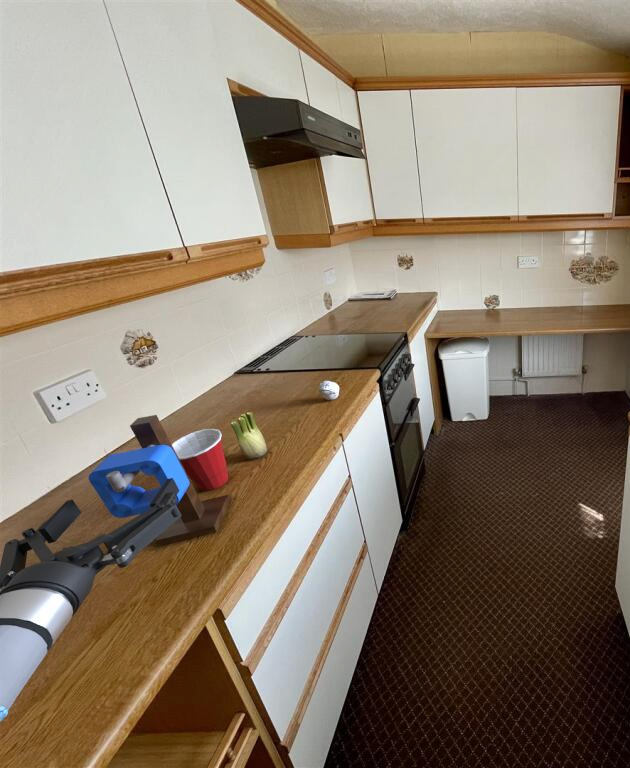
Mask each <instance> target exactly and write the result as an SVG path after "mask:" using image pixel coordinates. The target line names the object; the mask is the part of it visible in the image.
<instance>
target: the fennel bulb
mask: <svg viewBox="0 0 630 768" xmlns="http://www.w3.org/2000/svg"><path fill="white" fill-rule="evenodd" d="M237 421H238V422H237ZM237 421H231V423H230V425H231V428H232V429H233V431H234V435H235V436H236V439H237V442H238V445H239V448H240V451H241V452H242V454H243V456H244V457H245V458H246V459H247V460H254V459H258V458H261V457H263V456H264V455H266V453H267V452H268V448H267V447H268V446H267V443H266V440H265V438H264V436H263V434H262V432H261V431H260V429H259V427H258V426H257V424H256V421H255V418H254V414H253V412H252V411H249V412H246V413H241V415H240V417H238V419H237Z"/></svg>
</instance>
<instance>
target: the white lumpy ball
mask: <svg viewBox="0 0 630 768" xmlns="http://www.w3.org/2000/svg"><path fill="white" fill-rule="evenodd" d="M318 393H319V395H321V396H322V397H323V398H324V399H325V400H327V401H333V400H336V399H337V398H338V397H339V394H340V386H339V385H338V383H337V382H335V381H331V380H324V381H322V382H320V383H319V387H318Z"/></svg>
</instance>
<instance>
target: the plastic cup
mask: <svg viewBox="0 0 630 768" xmlns="http://www.w3.org/2000/svg"><path fill="white" fill-rule="evenodd" d="M222 436H223V433H222V432H221V431H220V429H217V428H204V429H200V430H197V431H193V432H191V433H187V434H186V435H183V436H181V437H179V438H178V439H176V440H175V441H173V442H171V444H172V446H173V448H174V450H175V452H176V454H177V456H178V458H179V460H180V462H181V464H182V466H183V467H184V469H185V471H186V473H187V475H188V477H189V479H190V481H193V483H194V484H195V485H196V486H197V487H198V489H199V490H201V491H204V492H207V491H213V490H216V489H218V488H221V487H222V486H223V485H225V484H226V483H227V482H228V479H229V474H228V468H227V461H226V458H225V453H224V449H223V443H222V442H223V441H222Z"/></svg>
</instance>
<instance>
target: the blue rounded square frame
mask: <svg viewBox="0 0 630 768" xmlns="http://www.w3.org/2000/svg"><path fill="white" fill-rule="evenodd" d="M138 470H140V472H141V473H142V474H144V475H147V476H154V477H155V478H156V480H157V482H158V484H159V487H155V488H152V489H147V490H145V489H144V487H140V486H137V485H131V483H130V484H129V485H128V486H127V487H126V489H125V490H124V491H122V492H116V491H114V490H113V489H112V486H111V484H110V482H109V481H108V479H107V477H106V475H107V474H109V473H111V472H114V471H119V472H120V474H121V475H123V474H124V473H128V472H133V471H138ZM170 478H173V479H174V481H175V483H176V485H177V486H178V488H179V490H180V491H179V492H178V494H177V496H176V499H177V501H176V502H175V504H176V505H177V504H178V503H179V501H180V499H181V498H182V496H183V495H184V493H185V491H186V490H187V488H188V486H189V484H190V483H189V480H188V478H187V476H186V474H185V472H184V470H183V468H182V466H181V465H180V463H179V461H178V459H177V457H176V455H175V453H174V451H173V450H172V448H171V447H169V446H167V445H157V446H152V447H147V448H142V447H141V448H138V449H132V450H128V451H123V452H119V453H113V454H108V456H106V457H105V458H104V459H103V460H102V461H101V462H100V463H99V464H98V465H97V466H96V467H95V468H94V469H93V470H92V471H91V472H90V473H89V474H88V481H89V483H90V485H91V486H92V487H93V489H94V490H95V492H96V494H97V495H98V496H99V498H100V499H101V501H102V502H103V504H104V506H105V507H106V509H107V510H108V511H109V513H110V515H111V516H113V517H115V518H117V519H125V518H129V517H133V516H139V515H140V514H142V513H143V512H145V511H147V510H148V509H150V508H152V507H151V506H150V503H151V502H152V500H153V499H154V498H155V496H156V495H157V493H158V492H159V491H160V489H161V488H162V486H163V485H164V483H165V482H166V481H167V479H170Z"/></svg>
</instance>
